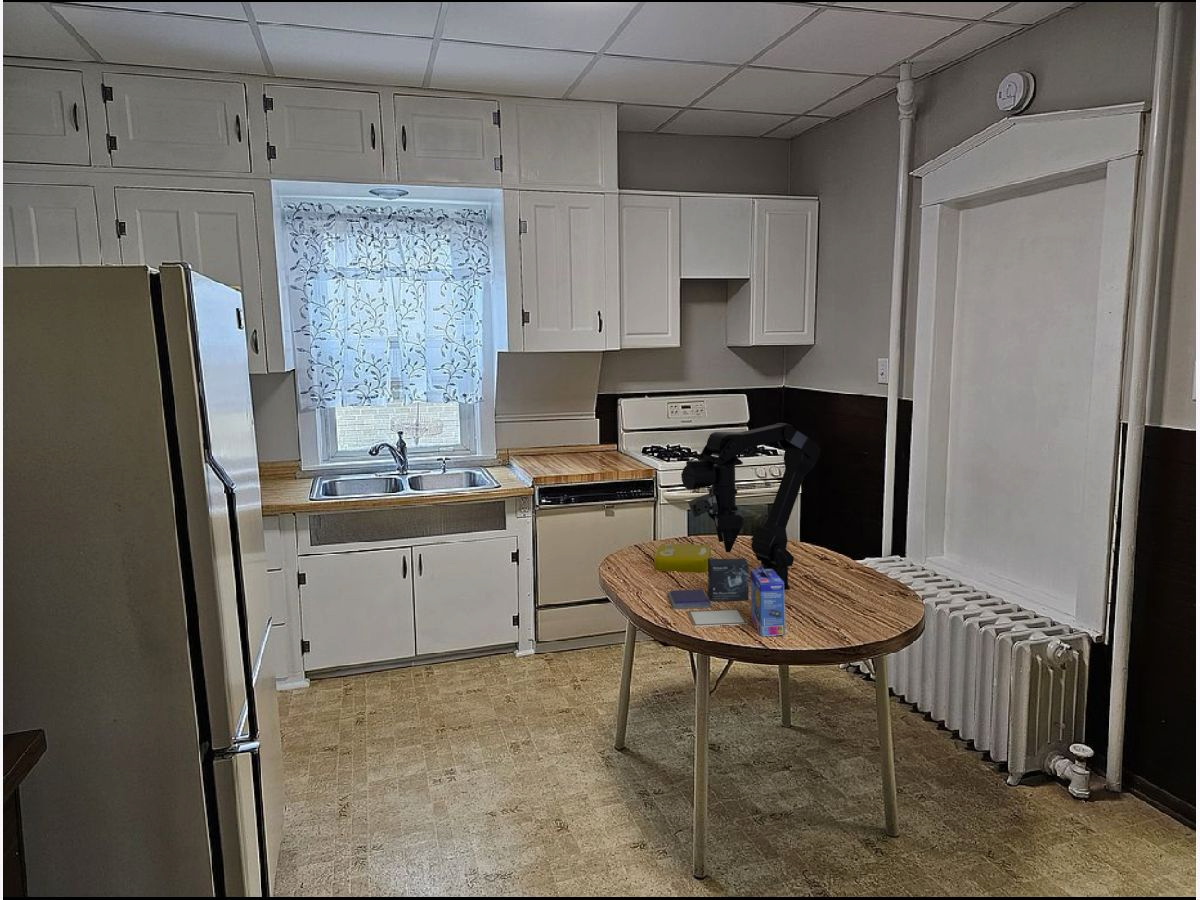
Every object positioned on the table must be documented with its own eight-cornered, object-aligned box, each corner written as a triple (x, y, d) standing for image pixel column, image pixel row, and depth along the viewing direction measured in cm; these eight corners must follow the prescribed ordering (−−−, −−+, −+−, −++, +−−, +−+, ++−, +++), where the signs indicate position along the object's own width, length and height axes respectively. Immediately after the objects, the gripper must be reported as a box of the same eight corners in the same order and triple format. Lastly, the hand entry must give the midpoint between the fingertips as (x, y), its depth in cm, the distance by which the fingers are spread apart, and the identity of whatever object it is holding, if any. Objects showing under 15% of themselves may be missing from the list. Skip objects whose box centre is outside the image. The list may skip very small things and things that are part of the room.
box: (710, 602, 184) (710, 564, 182) (707, 594, 189) (707, 558, 188) (749, 601, 184) (749, 563, 182) (744, 593, 189) (744, 557, 188)
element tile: (707, 574, 206) (707, 557, 205) (653, 572, 209) (653, 555, 209) (711, 558, 221) (711, 543, 220) (660, 557, 224) (660, 541, 223)
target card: (738, 610, 177) (738, 608, 177) (747, 624, 169) (747, 622, 168) (687, 612, 177) (687, 610, 177) (694, 626, 168) (694, 625, 168)
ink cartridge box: (749, 620, 171) (749, 558, 169) (773, 619, 171) (774, 558, 169) (760, 637, 161) (760, 572, 159) (785, 636, 161) (786, 571, 159)
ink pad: (704, 595, 189) (704, 588, 188) (711, 607, 180) (710, 600, 179) (668, 596, 188) (668, 590, 188) (673, 609, 179) (673, 602, 179)
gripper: (685, 478, 192) (686, 538, 194) (695, 493, 173) (697, 559, 176) (728, 476, 192) (729, 536, 194) (744, 491, 173) (744, 557, 176)
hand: (724, 546), depth 185 cm, fingers open, 9 cm apart
